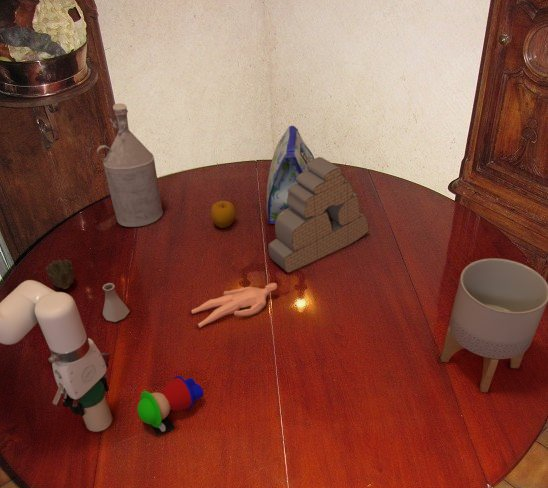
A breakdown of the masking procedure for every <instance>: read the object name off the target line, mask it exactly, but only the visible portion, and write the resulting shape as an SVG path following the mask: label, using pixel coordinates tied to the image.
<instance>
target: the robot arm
mask: <svg viewBox="0 0 548 488" xmlns="http://www.w3.org/2000/svg"><path fill="white" fill-rule="evenodd" d="M76 303H77V302H76V301H75V299H74V298H73V296H72V295H70V294H68V293H66V292H64V291H55V290H53V288H50V287H48V286H46V285H45V284H43V283H42V282H39V281H37V280H34V279H28V280H24V281H22V282H21V283H20V284H18V285H17V287H15V288H14V289H13V290H12V291H11V292H10V293H9V294H8V295H6V297H4V298H3V299H2V300H1V301H0V344H2V345H7V346H8V345H10V346H11V345H15V344H17V343H18V342H20V341H22V339H24V338H25V336H27V334H29V332H30V331H31V330H32V329H33V328H34V327H35V326H36V325H37V324H38V325H39V327H40V330H41V332H42V334H43V336H44V339H45V342H46V343H47V347H48V348H49V352H50V356H49V357H48V358H47V361H48V362H49V363H50V365H51V366H52V372H53V373H52V374H53V376H54V379H55V382H56V383H55V384H56V386H57V391H56V393H55V395H54V398H53V400H52V404H53V406H55V407H60V408H61V407H63V408H69V409H70V413H72V414H74V415H75V416H77V415H79V416H80V417H83V416H84V414H85V413H84V411H83V408H82V406H81V404H80V403H78V399H79V398H80V397H82V396H83V395H84V394H85V393H86V392H87V391H88V390H89V389H90V388H91V387H92V386H94V385H95V384H96V383H97V382H98V381H99V380H100V381H101V382H102V383H103V385H104V388H105V393H108V392H109V391H110V388H109V385H108V380H107V377H108V373H107V371H108V368H109V362H110V359H111V354H110V353H107V352H101V351H100V349H99V348H98V347H97V345H96V344H95V342H94V340H93V339H91V338H89V337H88V335H87V332H86V329H85V326H84V323H83V321H82V317H81V314H80V311H79V309H78V307H77V306H78V305H77V304H76Z"/></svg>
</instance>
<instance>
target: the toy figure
mask: <svg viewBox="0 0 548 488" xmlns="http://www.w3.org/2000/svg"><path fill="white" fill-rule="evenodd" d="M203 397H204V389H203V388H202V386H201V385H200V384H199V383H196V381H195V380H194V378H192V377H188V378H186V379H184V377H182V376H181V375H176V376H174V378H173V379H171V380H170V381H169V382H168V383H166V385H165V386H164V387H163V388H162V390H161V391H160V392H158V391H157V392H156V391H155V392H152V393H150V392H149V391H147V390H143V391H142V392H141V394H140V400H139V402H138V404H137V415H138V417H139V419H140V420H141V421H142V422H143V423H145V424H147V425H150V427H151V429H152V431H154V434H155V435H156V437H157V436H161V435H162V434H165V433H168V432H170V431H173V430H175V429H176V427H175V425H174V424H173V422H172V420H171V419H170V417H169V414H170V411H182V410H185V409H191V408H193V406H194V403H195V402H196V401H197V400H199V399H201V398H203Z"/></svg>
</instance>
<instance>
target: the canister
mask: <svg viewBox="0 0 548 488" xmlns="http://www.w3.org/2000/svg"><path fill="white" fill-rule="evenodd" d="M112 109H113V111H114V115H115V118H116V119H114V120H113V119H112V118H109V121H110V122H111V124H112V128H113V129H115V130H117V129H118V132H117V134H116V135H115V138H114V140H113V142H112V143H111V146H110V147H109V146H108V145H106V144H102V145H99V146H98V147H97V149H96V155H97V158H98V159H100V160H103V161H102V164H103V168H104V172H105V177H106V182H107V187H108V190H109V194H110V199H111V201H112V208H113V211H114V214H115V218H116V222H117V223H118V224H119V225H120V226H123V227H126V228H137V227H144V226H148V225H151V224H153V223H155V222H157V221H158V220H160V218H161V217H162V216H163V213H164V210H163V206H162V200H161V199H162V198H161V192H160V186H159V182H158V181H159V180H158V175H157V170H156V169H157V168H156V162H155V156H154V154H153V153H152V152H151V151H149V149H148V148H147V147H146V146H145V145H144V144H143V143H142V142H141V140H139V138H137V136H135V134H134V133H132V132H131V130H130V128H129V120H128V112H129V111H128V107H127V105H126V104H124V103H114V104H113V105H112ZM104 148H105V149H108V152H107V154H106V156H105V157H100V156H99V151H100V150H101V149H104Z"/></svg>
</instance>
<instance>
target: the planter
mask: <svg viewBox="0 0 548 488" xmlns="http://www.w3.org/2000/svg"><path fill="white" fill-rule="evenodd" d="M547 305H548V282H547V281H546V279H545V278H544V277H543V276H542V274H540V273H539V272H537V271H536V270H534V269H533V268H531V267H529V266H528V265H525V264H523V263H520V262H518V261H514V260H510V259H506V258H498V257H497V258H495V257H493V258H483V259H478V260H475V261H473V262H470V263H469V264H467V266H465V267H464V268H463V270H462V272H461V273H460V277H459V281H458V284H457V289H456V292H455V297H454V301H453V305H452V308H451V312H450V318H449V321H448V327H447V329H446V333H445V337H444V342H443V345H442V348H441V349H442V350H441V354H440V362H441V363H449V362H450V359H451V358H452V357H453V356H454V355H455V354H456V353H457V352H458V351H461V350H462V349H466V350H467V351H469V352H470V353H473V354H474V355H477V356H481V357H482V361H483V363H482V372H481V378H480V384H479V390H480V392H481V393H482V392H483V393H488V392H489V388H490V386H491V384H492V380H493V377H494V374H495V372H496V369H497V366H498V363H499V360H507V359H510V362H509V366H510V368H511V369H519V368H520V365H521V363H522V360H523V358H524V355H525V353H526V351H527V350H529V348H530V347H531V344H532V342H533V339H534V337H535V335H536V332H537V329H538V327H539V325H540V322H541V319H542V317H543V314H544V313H545V310H546V308H547Z"/></svg>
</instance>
